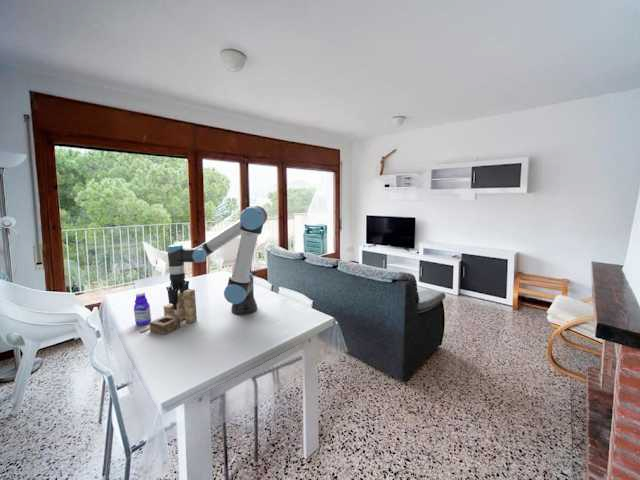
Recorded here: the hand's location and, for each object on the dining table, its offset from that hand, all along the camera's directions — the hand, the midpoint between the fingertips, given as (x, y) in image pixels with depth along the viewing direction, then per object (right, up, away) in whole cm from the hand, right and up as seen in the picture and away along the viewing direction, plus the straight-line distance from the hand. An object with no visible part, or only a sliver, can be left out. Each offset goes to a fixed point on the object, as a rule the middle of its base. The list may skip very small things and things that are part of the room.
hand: (180, 312), depth 161 cm
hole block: (-2, -6, -12) cm, 13 cm away
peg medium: (0, -4, +1) cm, 4 cm away
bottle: (-18, -5, -5) cm, 19 cm away
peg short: (-8, -3, +4) cm, 9 cm away
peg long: (+7, -4, -2) cm, 9 cm away
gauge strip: (-10, -5, -8) cm, 14 cm away
